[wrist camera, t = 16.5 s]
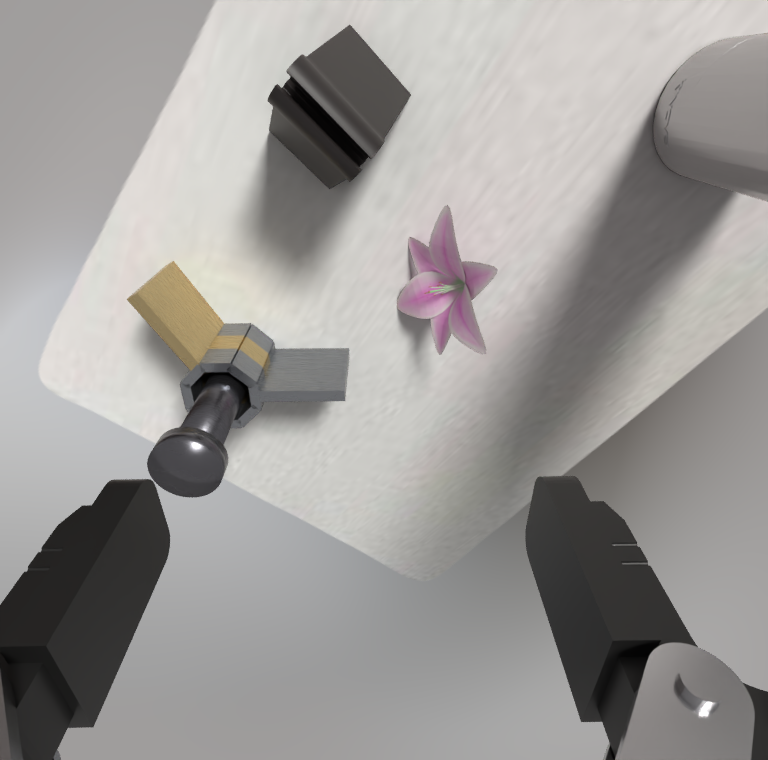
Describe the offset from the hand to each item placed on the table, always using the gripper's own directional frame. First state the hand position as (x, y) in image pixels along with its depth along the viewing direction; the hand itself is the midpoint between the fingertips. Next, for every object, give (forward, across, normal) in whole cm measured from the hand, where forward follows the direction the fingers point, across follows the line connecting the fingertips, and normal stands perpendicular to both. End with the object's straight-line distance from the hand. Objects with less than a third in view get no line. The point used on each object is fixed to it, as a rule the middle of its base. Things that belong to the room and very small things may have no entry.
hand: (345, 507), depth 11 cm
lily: (+34, -6, +6) cm, 35 cm away
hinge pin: (+34, +12, +14) cm, 39 cm away
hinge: (+34, +10, +11) cm, 37 cm away
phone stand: (+34, +2, -6) cm, 35 cm away
